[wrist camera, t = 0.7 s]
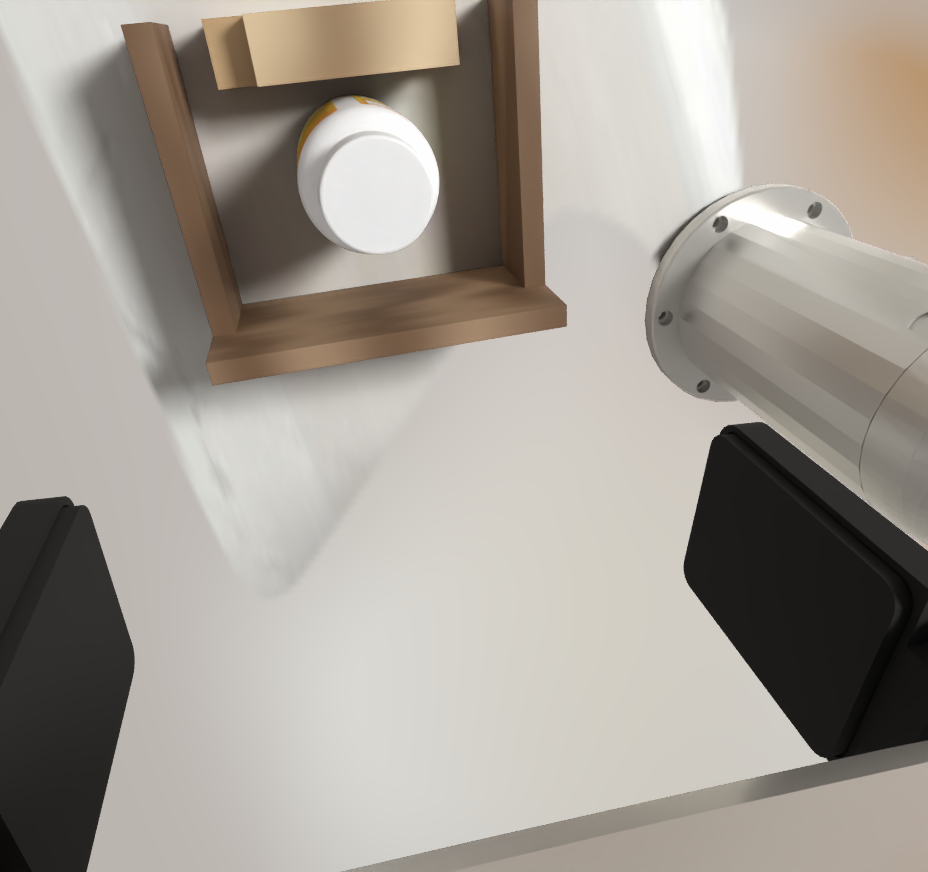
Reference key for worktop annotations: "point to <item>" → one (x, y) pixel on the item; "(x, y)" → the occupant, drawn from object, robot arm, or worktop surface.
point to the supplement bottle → (366, 175)
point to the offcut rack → (373, 306)
